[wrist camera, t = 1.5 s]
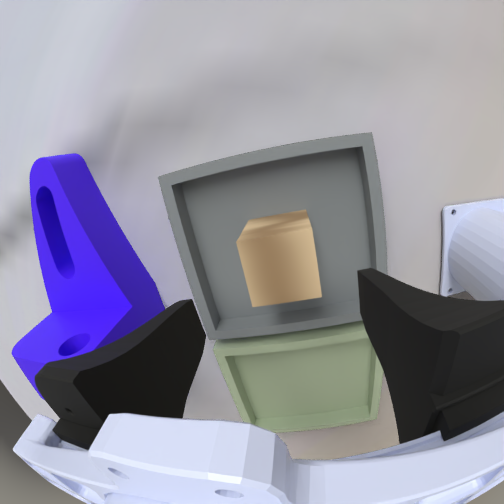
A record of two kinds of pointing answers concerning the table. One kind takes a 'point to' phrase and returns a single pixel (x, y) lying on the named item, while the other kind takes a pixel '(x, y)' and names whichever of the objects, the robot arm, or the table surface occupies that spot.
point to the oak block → (279, 259)
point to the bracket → (81, 268)
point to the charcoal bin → (272, 203)
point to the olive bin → (303, 377)
